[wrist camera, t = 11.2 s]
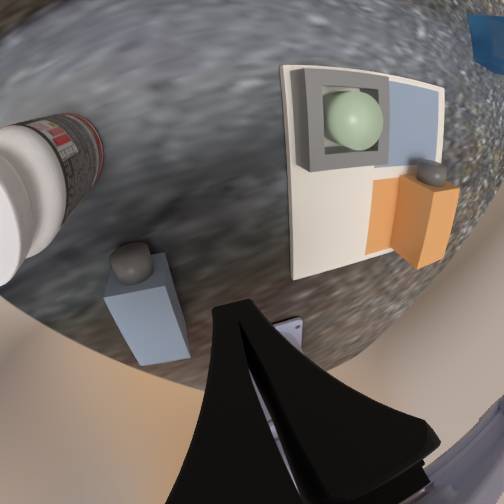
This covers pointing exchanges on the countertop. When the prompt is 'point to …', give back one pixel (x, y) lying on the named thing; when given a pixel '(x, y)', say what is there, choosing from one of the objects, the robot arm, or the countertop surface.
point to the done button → (352, 119)
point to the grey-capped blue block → (146, 305)
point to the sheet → (357, 180)
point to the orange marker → (424, 214)
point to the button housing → (312, 120)
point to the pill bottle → (42, 182)
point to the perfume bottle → (488, 41)
